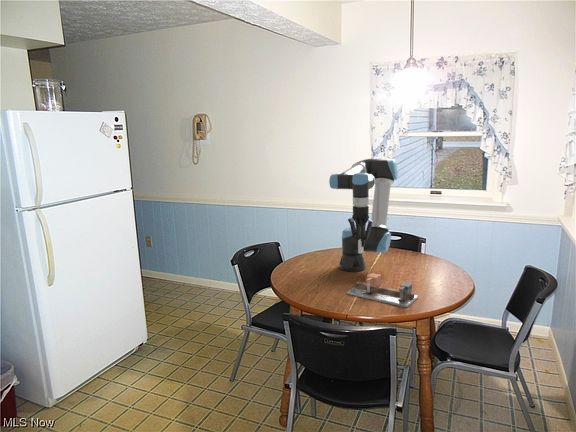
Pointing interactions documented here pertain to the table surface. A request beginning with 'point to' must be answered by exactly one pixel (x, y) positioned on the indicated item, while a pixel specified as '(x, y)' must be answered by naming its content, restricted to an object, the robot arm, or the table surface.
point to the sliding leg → (373, 281)
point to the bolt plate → (381, 296)
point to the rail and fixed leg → (392, 290)
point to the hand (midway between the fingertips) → (360, 252)
